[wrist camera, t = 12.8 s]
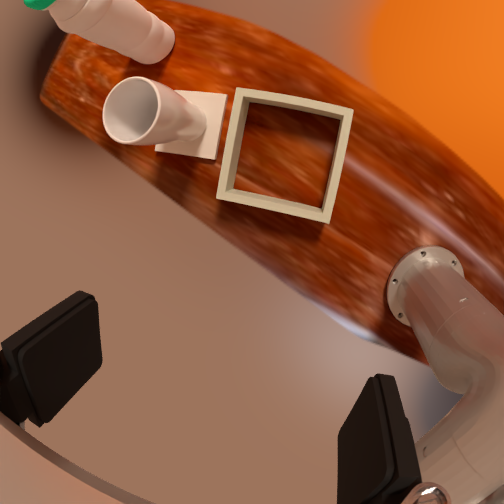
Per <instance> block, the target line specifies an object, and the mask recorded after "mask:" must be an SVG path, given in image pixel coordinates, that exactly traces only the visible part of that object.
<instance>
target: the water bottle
mask: <svg viewBox="0 0 504 504" xmlns="http://www.w3.org/2000/svg"><path fill="white" fill-rule="evenodd" d="M24 4H25V5H26V6H27V7H30V8H33V9H36V10H43V11H45V10H48V9H49V12H50V15H51V16H52V17H53V18H54V20H55V22H56V24H57V25H58V27H59V28H60V29H62V30H63V31H65V32H67V33H72V34H77V35H79V36H81V37H83V38H85V39H87V40H89V41H92V42H94V43H96V44H99V45H101V46H104V47H107V48H110V49H113V50H116V51H117V52H119V53H121V54H123V55H125V56H128V57H131V58H132V59H134V60H136V61H138V62H140V63H143V64H153V63H156V62H159V61H161V60H162V59H164V58H165V57H166V56H167V55H168V54H169V53H170V51H171V50H172V48H173V45H174V42H175V35H174V32H173V30H172V29H171V27H170V26H168V25H167V24H166V23H164V22H163V21H161V20H159V18H158V17H157V16H155V15H154V14H152V13H151V12H149V11H147V10H146V9H145V8H144V7H142V6H141V5H140V4H139V3H138V2H136V1H135V0H24Z"/></svg>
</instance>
